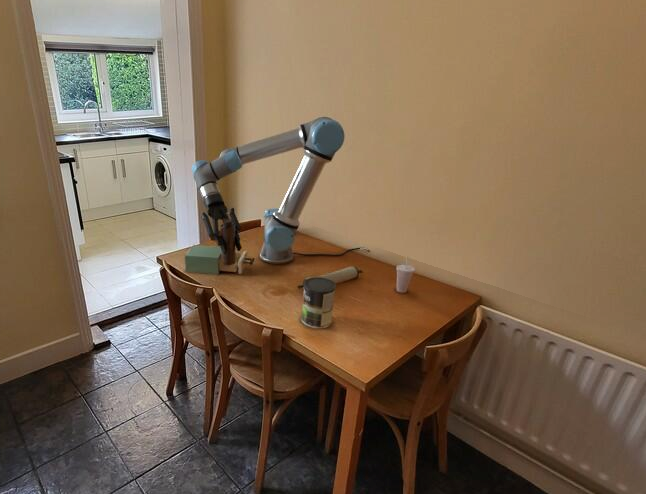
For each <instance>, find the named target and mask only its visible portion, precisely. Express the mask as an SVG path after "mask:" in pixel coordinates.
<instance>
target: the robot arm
mask: <svg viewBox="0 0 646 494" xmlns="http://www.w3.org/2000/svg"><path fill="white" fill-rule="evenodd" d="M345 136H346V135H345V131H344V127H343V126H342V125H341V123H340V122H338V121H337V120H335V119H332V118H331V117H328V116H319V117H318V118H315V119H313V120H310V121H308V122H304V123H301V124H299V125H298V127H296V128H295V129H292V130H291V129H290V130H288V131H284V132H281V133H278V134H275V135H271V136H268V137H265V138H262V139H258V140H255V141H251V142H247V143H245V144H242V145H237V146H236V147H231V148H225V149H223V150H222V151H221V152H220V154H219V156H218V157H217V158H216V159H214V160H212V161H210V162H209V161H208V160H206V159H201V160H197V161H195V162H194V163H193V164H192V166H191V172H192V176H193V179H194V181H195V183H196V184H195V185H196V187H197V189H198V191H199V194H200V198H201V200H202V201H203V205H204V208H205V210H206V211H204V212H202V214H201V215H200V218H201V219H202V221H203V222H204V226H205V229H206V231H207V235H208V238H209V239H213V240H214V241H215V243H216V245H217V246H218V247H221V250H222V253H223V254H225V253H226V252H227V249H226V246H225V244H224V241H223V239H222V236H221V235H220V231H219V220H221V221H222V222H223V220H225V219H231V220H232V224H234V225H235V249H236V251H238V252H241V250H242V249H243V247H242V244H241V237H240V232H241V231H242V226H241V224H240V222H239V220H238V218H237V215H236V213H235V207H230V208H228V207H227V206H226V204H225V201H224V198H223V195H222V192H221V191H220V188H219V186H218V183H217V182H218V181H221V180H222V179H224V178H225V177H228V176H230V175H232V174H233V173H236V172H237V171H239V170H240V169H242V168H243V165H246V164H250V163H254V162H256V161H260V160H263V159H266V158H270V157H274V156H277V155H280V154H284V153H288V152H290V151H295V150H297V149H301V148H302V149H303V152H304V156H303V158H302V160H301V162H300V165H299V166H298V169H297V171H296V173H295V175H294V177H293V179H292V181H291V183H290V187H289V188H288V190H287V192H286V194H285V197H284V199H283V201H282V203H281V205H280V207H279V208H268V209H266V210H265V211H264V216H263V217H264V227H263V228H264V234H263V236H264V237H263V244H262V247H261V250H260V253H259V259H260V260H261V262H264V263H265V264H269V265H285V264H289V263H291V262H292V261H293V260H294V255H295V256H296V255H297V256H302V257H316V256H317V257H319V256H322V257H323V256H324V257H341V256H344V255H346V254H347V253H349V252H352V251H357V250H361V249H360V248H361V247H355V248H350V249H347V250H346V251H344V252H343V253H338V254H331V253H330V254H329V253H299V252H293V249H292V246H293V245H294V242H295V239H296V237H295V235H296V233H297V232H296V231H298V229H299V227H300V225H301V223H300V221H299V218H300V217H301V215H302V212H303V210H304V208H305V207H306V204H307V202H308V201H309V198H310V196H311V194H312V192H313V190H314V188H315V186H316V184H317V182H318V180H319V178H320V176H321V174H322V172H323V169H324V168H325V166H326V164H328V163H331V162H332V160H333V159H334V156H335V155H336V153H337V152H338V151H339V150H341V148H342V147H343V145H344V142H345ZM210 218H211V220H212V224H211V221H210ZM364 250H366V249H364ZM369 250H370V249H369ZM369 250H366V251H367V252H371V250H370V251H369Z"/></svg>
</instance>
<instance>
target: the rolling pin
mask: <svg viewBox="0 0 646 494" xmlns="http://www.w3.org/2000/svg"><path fill="white" fill-rule="evenodd" d="M362 273H363V269H358V267H357V266H348V267H345V268H342V269H339V270H336V271H332V272H328V273H324V274H321V275H317V276H315V277H322V278H327V279H330V280H332V281H333V282H334V283H335V284H336V285H337V284H339V283H343V282H346V281H349V280H353V279H358V278H359V277H360V274H362ZM313 277H314V276H311V277H304V279H303V280H302V284H299V285H297V289H304V281H305V280H307V279H309V278H313Z"/></svg>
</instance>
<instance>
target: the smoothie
mask: <svg viewBox="0 0 646 494" xmlns="http://www.w3.org/2000/svg"><path fill="white" fill-rule="evenodd" d="M408 261H409V256H406V257H405V264H397V266H396V268H395V270H396V291H397V292H398V293H401V294H402V293H403V294H405V293H407V292H408V288H409V285H410V283H411V280H412V276H413V274H414V273H415V267H414V266H413V265H409V264H408Z"/></svg>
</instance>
